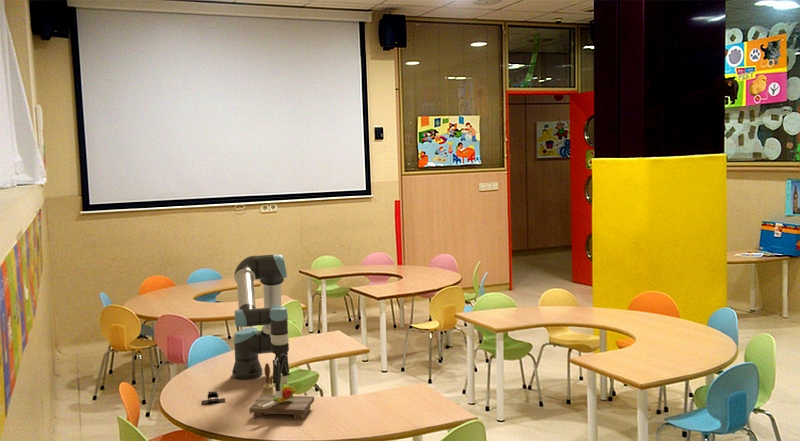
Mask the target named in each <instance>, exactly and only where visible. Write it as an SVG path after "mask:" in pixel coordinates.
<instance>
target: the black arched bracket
mask: <svg viewBox="0 0 800 441" xmlns="http://www.w3.org/2000/svg"><path fill="white" fill-rule="evenodd" d="M206 396H207V399H205V400H203V399H202V400H201V406H206V405H207V406H208V405H215V404H217V405H218V404H224V403H226V398H225V397H223V398H219V393H218V391H217V390H215V391H213V390H212V391H208V394H207V395H206Z"/></svg>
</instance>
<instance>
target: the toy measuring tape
mask: <svg viewBox="0 0 800 441" xmlns="http://www.w3.org/2000/svg"><path fill="white" fill-rule="evenodd" d="M295 393H296V389H295V387H293V386H290V385H289V384H288V385H285V384H282V398H275V397H274V399H273V401H271V402H269V403H268V404H266V405H263V406H262V405H260V404H258V405H257V406H258V407H259V408H262V407H265V406H267V405H270V404H273V403H276V402H277V403H280V402H283V401H286V400H288V399H290V398H293V396H294V394H295Z"/></svg>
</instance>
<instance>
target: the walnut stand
mask: <svg viewBox="0 0 800 441" xmlns="http://www.w3.org/2000/svg"><path fill="white" fill-rule="evenodd" d="M260 395H261V394H260ZM260 395H259V396H260ZM274 397H275V395H261V396H260V397H258V398H257V400H255V402H253V404H251V406H249V414H253V419H254V420H258V419H259V420H261V419H262V418H263V417H264V416H265V415H266V414H277V415H278V414H281V415H294V421H302V420H303V419H304V418H305V416H306V415H307V414H306V413H308V412H309V411H310V410H311V406H312V404H313V403H314V402H315V396H313V395H312V396H311V395H310V396H308V395H293V398H290V399H288V400H286V401H283V402H280V403H277V402H276V403H273V404H270V405H267V406H265V407H262V408H259V407H258V406H257V405H258V404H260V405H262V406H263V405H266V404H268V403H269V402H271V401H273V399H274ZM303 417H304V418H303Z"/></svg>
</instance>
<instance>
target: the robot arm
mask: <svg viewBox="0 0 800 441" xmlns="http://www.w3.org/2000/svg"><path fill="white" fill-rule="evenodd" d="M287 277H288V274H287V268H286V263H285V258H284V255H283V254H275V253H273V254H261V255H249V256H247V257H245V258H244V259H242V260H241V261H240V262H239V263H238V265H237V266H236V268H235V270H234V281H235V283H236V285H237V286H236V288H237V301H238V304H237V305H238V309H236V310H235V311H234V325H235V327H237V328H243V329H240V330H237V331H236V332H235V333H234V335H233V344H234V362H233V364H234V365H233V368H232V371H231V376H232V378H233V379H237V380H252V379H256V378H259V377H261V376H262V375H263V367H262V365H261V362H260V359H259V355H261V354H274V355H275V357H274V359H273V360H272V384H274V392H275V398H282V384H285V385H288V386H289V378H288V377H289V376H290V374H291V373H290V367H289V358H288V357H289V356H288V355H289V354H288V352H289V350H290V348H289V346H290V344H289V340H290V339H289V328H288V327H289V326H288V325H289V324H288V323H289V319H288V317H289V314H288V308H287V307H285V306H282V284H283V283H284V282H285V279H286V278H287ZM255 280H259V282H260V284H262V285H263V288H262V289H263V307H262V308H261V307H260V308H259V307H258V308H257V307H256V306H257V305H256V295H255V286H254V282H255ZM256 326H261V330H258V329H257V328H256Z"/></svg>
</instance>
